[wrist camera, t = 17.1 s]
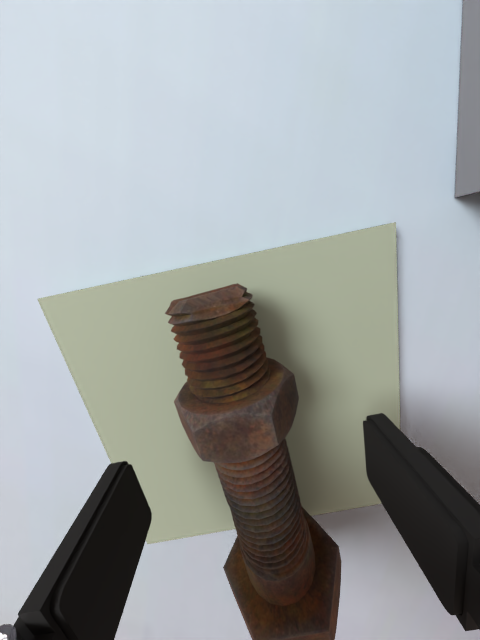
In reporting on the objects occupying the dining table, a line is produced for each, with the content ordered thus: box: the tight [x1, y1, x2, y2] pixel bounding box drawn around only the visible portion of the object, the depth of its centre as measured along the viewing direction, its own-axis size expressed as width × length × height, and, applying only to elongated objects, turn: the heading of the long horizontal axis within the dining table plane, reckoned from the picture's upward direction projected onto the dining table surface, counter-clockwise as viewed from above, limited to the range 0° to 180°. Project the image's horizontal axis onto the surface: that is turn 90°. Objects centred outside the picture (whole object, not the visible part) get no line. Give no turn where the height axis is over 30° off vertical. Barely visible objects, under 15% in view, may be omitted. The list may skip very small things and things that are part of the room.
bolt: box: [165, 283, 341, 640], centre depth 10 cm, size 6×5×15 cm
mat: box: [38, 222, 400, 544], centre depth 12 cm, size 16×16×1 cm
